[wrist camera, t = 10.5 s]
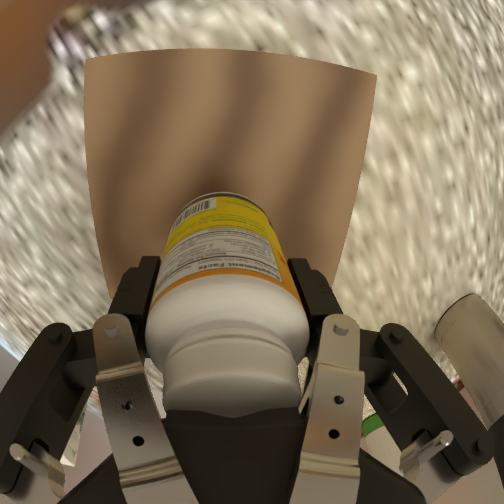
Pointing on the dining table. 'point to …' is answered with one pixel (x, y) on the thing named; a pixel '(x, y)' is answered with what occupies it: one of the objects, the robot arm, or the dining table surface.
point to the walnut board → (223, 147)
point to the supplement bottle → (226, 312)
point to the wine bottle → (381, 443)
